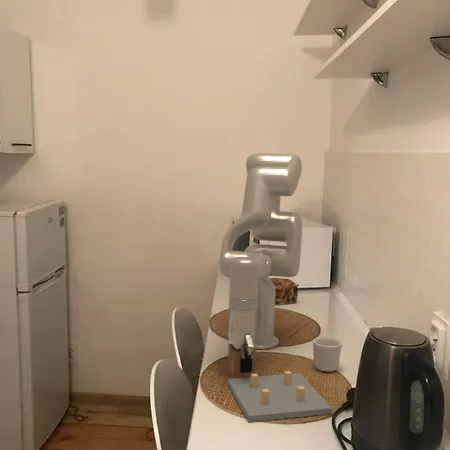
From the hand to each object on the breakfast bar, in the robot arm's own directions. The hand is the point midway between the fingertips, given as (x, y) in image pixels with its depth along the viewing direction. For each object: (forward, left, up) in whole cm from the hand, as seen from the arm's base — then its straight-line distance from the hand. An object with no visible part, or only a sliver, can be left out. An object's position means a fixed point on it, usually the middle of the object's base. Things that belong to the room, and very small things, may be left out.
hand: (241, 365), depth 143 cm
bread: (-67, +31, -3) cm, 74 cm away
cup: (-1, +26, -3) cm, 26 cm away
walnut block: (0, 0, -3) cm, 3 cm away
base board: (+15, +5, -3) cm, 16 cm away
